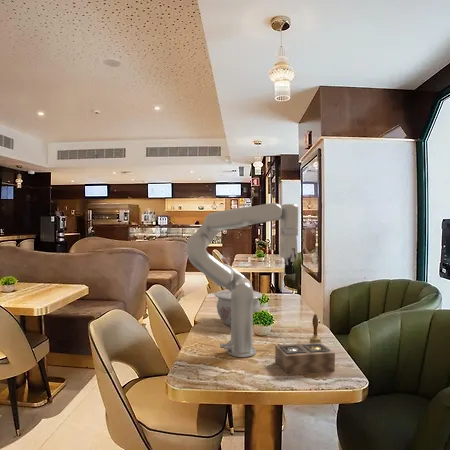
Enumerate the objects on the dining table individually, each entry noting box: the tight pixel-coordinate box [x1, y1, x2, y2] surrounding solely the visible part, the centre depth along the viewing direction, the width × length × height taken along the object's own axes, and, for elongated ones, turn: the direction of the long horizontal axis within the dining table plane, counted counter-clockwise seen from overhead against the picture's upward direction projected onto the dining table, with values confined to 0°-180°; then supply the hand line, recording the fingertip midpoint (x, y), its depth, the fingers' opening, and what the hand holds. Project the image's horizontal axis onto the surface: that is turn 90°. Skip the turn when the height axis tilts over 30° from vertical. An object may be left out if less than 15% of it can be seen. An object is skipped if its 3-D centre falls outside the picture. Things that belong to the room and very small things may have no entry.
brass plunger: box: [311, 346, 321, 351], centre depth 141 cm, size 4×4×7 cm
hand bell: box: [309, 313, 322, 343], centre depth 159 cm, size 8×8×16 cm
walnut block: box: [274, 342, 336, 375], centre depth 140 cm, size 20×12×7 cm, turn 101°
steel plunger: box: [287, 348, 298, 352], centre depth 139 cm, size 4×4×7 cm
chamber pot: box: [214, 288, 263, 326], centre depth 200 cm, size 28×28×21 cm
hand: (288, 274), depth 154 cm, fingers closed
